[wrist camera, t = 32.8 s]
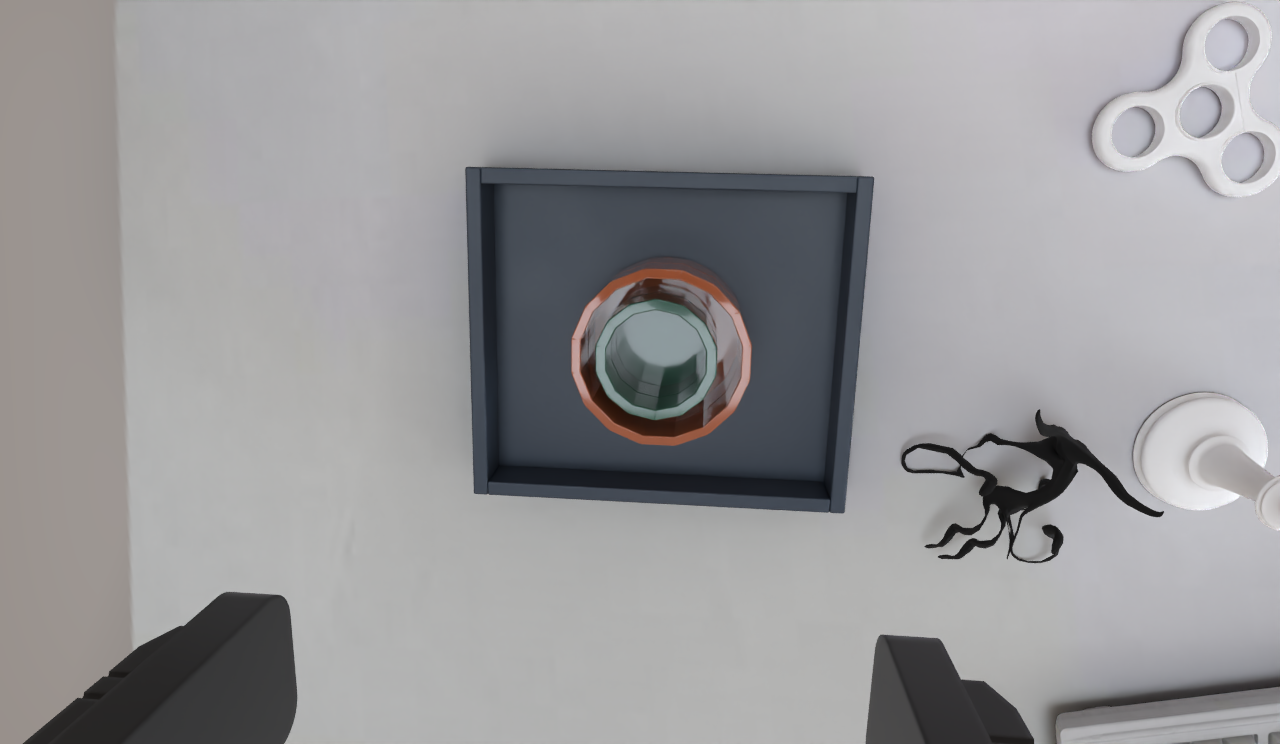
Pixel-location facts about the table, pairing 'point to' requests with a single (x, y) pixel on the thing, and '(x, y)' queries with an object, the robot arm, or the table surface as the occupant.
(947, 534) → the creature
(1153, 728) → the keyboard
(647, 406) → the small bowl
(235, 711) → the robot arm
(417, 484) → the table surface
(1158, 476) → the chess piece
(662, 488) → the tray
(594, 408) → the big bowl
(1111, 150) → the fidget spinner
